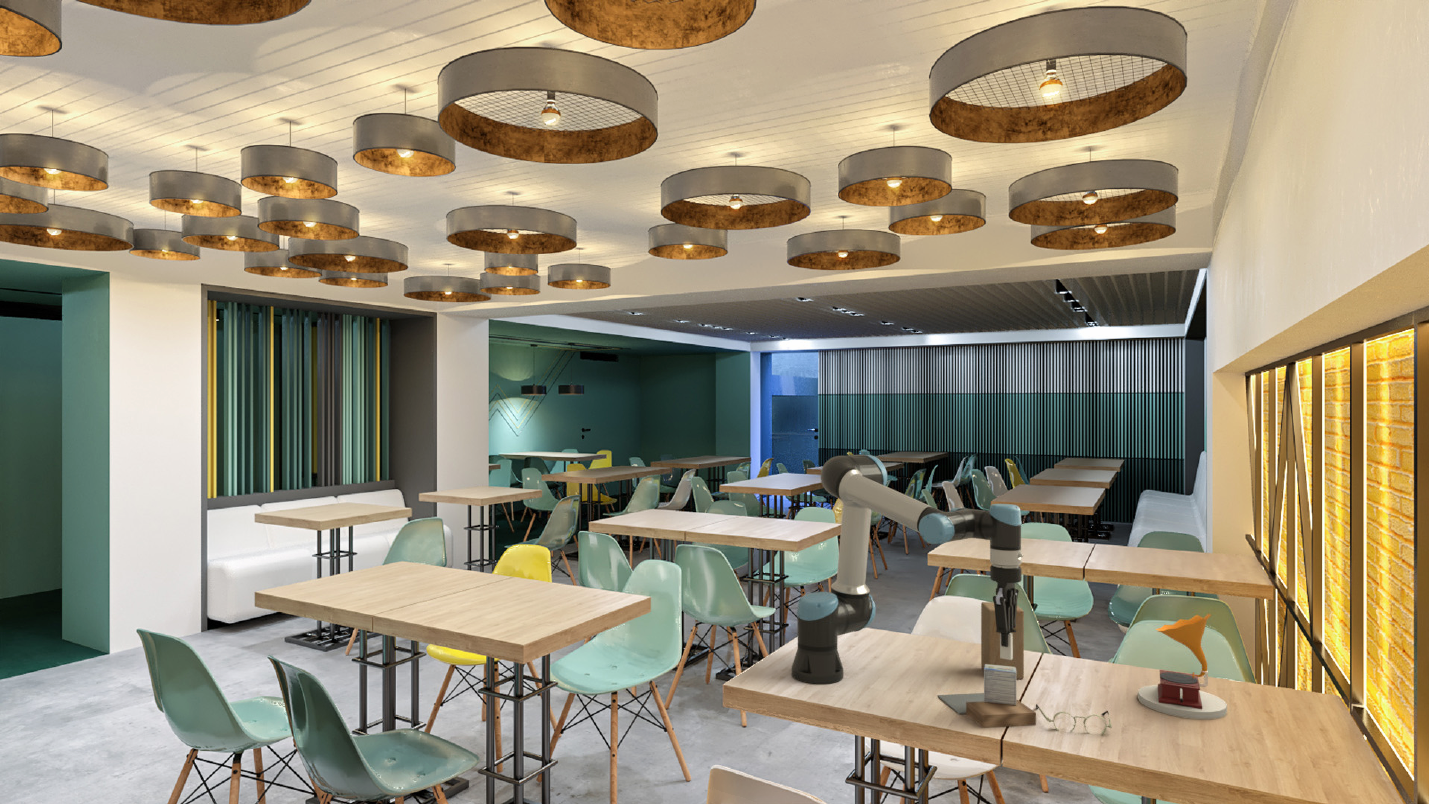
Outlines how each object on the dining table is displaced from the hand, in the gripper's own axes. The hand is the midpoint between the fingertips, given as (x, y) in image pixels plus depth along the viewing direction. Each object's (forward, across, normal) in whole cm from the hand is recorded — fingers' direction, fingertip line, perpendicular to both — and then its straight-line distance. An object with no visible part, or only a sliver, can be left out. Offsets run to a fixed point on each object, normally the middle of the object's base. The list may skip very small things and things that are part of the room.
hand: (1006, 658), depth 205 cm
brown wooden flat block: (+15, -2, +1) cm, 15 cm away
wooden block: (+15, +34, +12) cm, 39 cm away
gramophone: (+16, +38, -33) cm, 53 cm away
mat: (+15, +5, +9) cm, 18 cm away
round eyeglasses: (+16, +8, -14) cm, 23 cm away
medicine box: (+12, +2, +2) cm, 12 cm away
